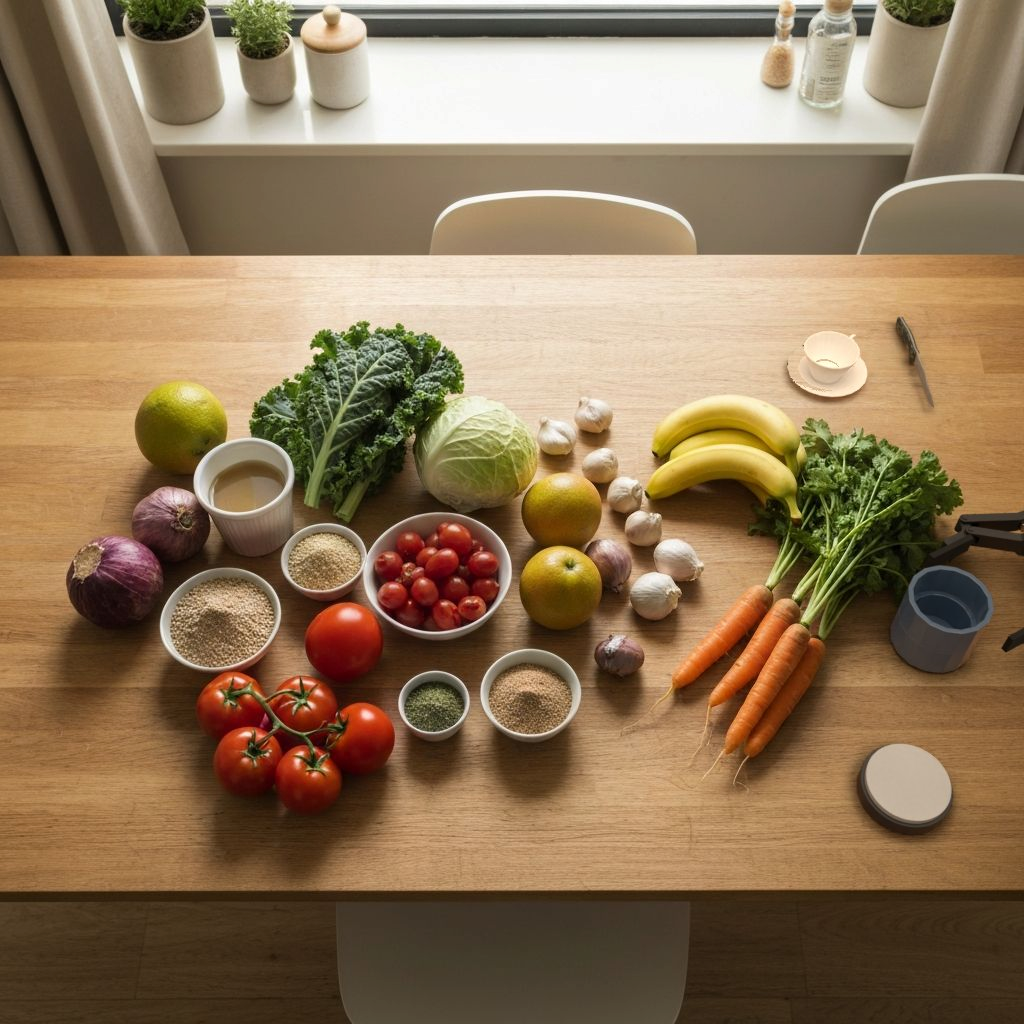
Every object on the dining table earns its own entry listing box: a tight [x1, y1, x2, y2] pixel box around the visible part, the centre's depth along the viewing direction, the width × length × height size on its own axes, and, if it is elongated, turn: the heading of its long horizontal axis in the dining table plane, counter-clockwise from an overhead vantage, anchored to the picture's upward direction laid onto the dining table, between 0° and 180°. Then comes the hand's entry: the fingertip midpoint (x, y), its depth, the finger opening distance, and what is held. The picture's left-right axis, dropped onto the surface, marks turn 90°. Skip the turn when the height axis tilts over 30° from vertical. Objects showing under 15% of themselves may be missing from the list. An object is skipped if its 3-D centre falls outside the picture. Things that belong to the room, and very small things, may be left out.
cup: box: [889, 564, 995, 674], centre depth 130 cm, size 10×10×10 cm
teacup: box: [790, 330, 868, 398], centre depth 162 cm, size 12×12×5 cm
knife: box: [895, 316, 935, 409], centre depth 163 cm, size 20×1×3 cm, turn 1°
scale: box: [856, 743, 954, 836], centre depth 121 cm, size 10×10×3 cm
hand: (966, 602), depth 131 cm, fingers open, 13 cm apart
